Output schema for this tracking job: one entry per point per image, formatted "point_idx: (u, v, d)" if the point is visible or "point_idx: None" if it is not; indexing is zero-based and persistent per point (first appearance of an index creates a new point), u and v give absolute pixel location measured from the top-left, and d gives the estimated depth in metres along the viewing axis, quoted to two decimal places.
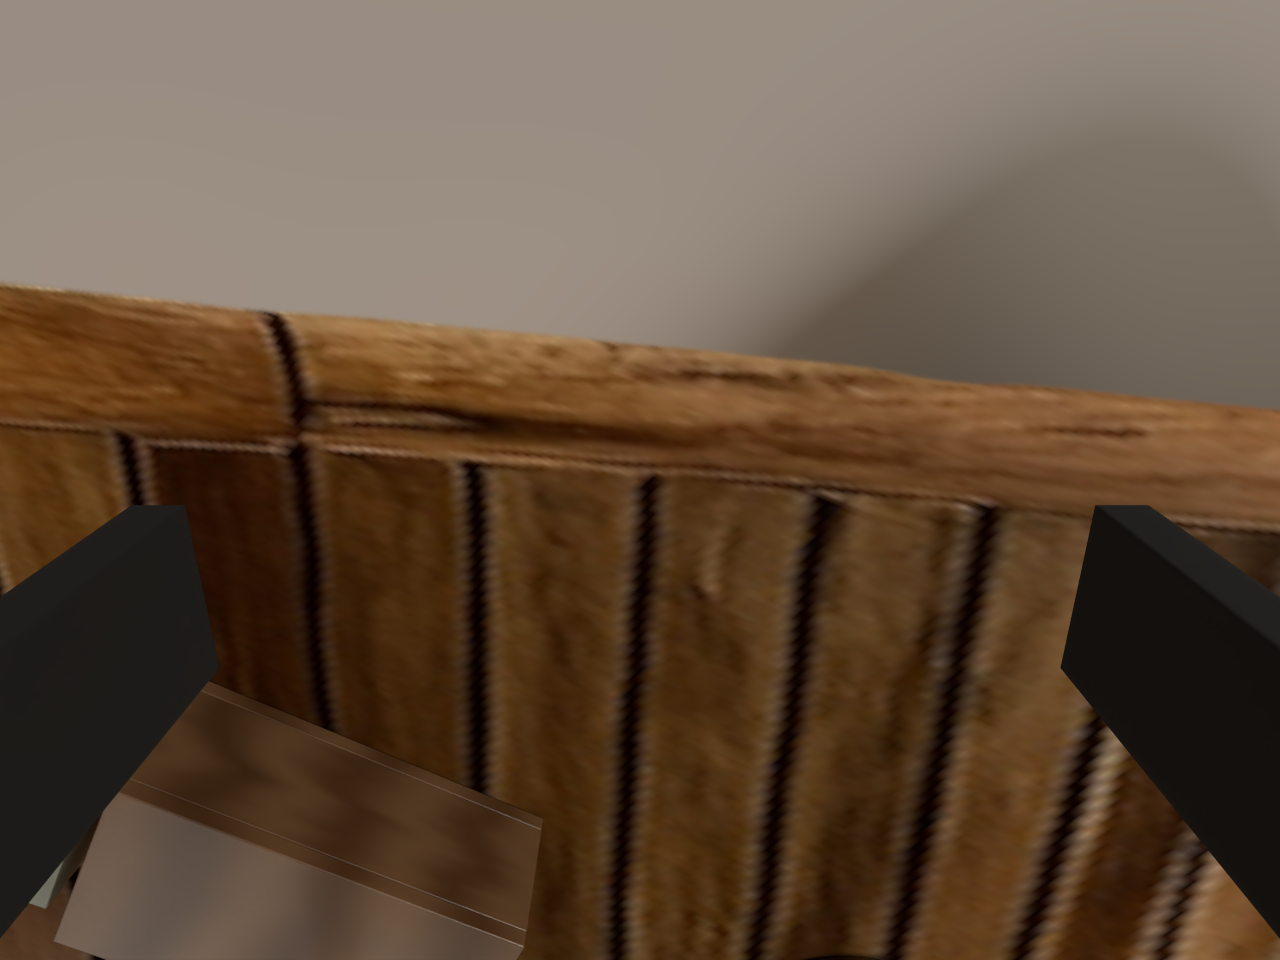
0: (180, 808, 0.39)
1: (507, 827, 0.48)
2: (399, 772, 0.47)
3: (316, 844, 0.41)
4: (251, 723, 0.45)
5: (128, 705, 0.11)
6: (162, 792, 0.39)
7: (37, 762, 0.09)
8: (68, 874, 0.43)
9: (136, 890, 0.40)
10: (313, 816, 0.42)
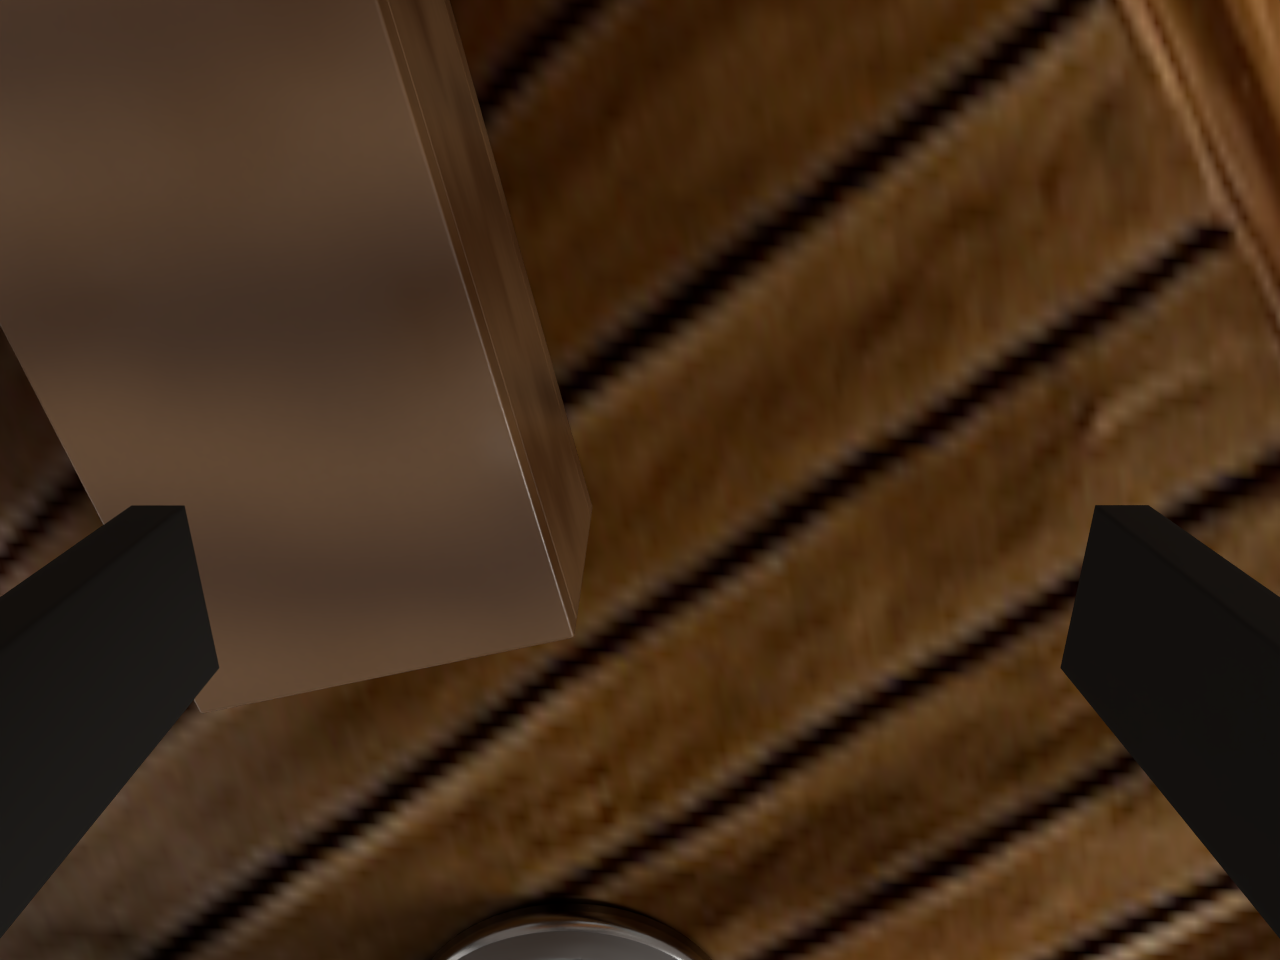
0: None
1: (574, 473, 0.28)
2: (517, 266, 0.26)
3: (450, 195, 0.19)
4: None
5: (128, 705, 0.11)
6: None
7: (36, 762, 0.09)
8: None
9: None
10: (455, 162, 0.20)
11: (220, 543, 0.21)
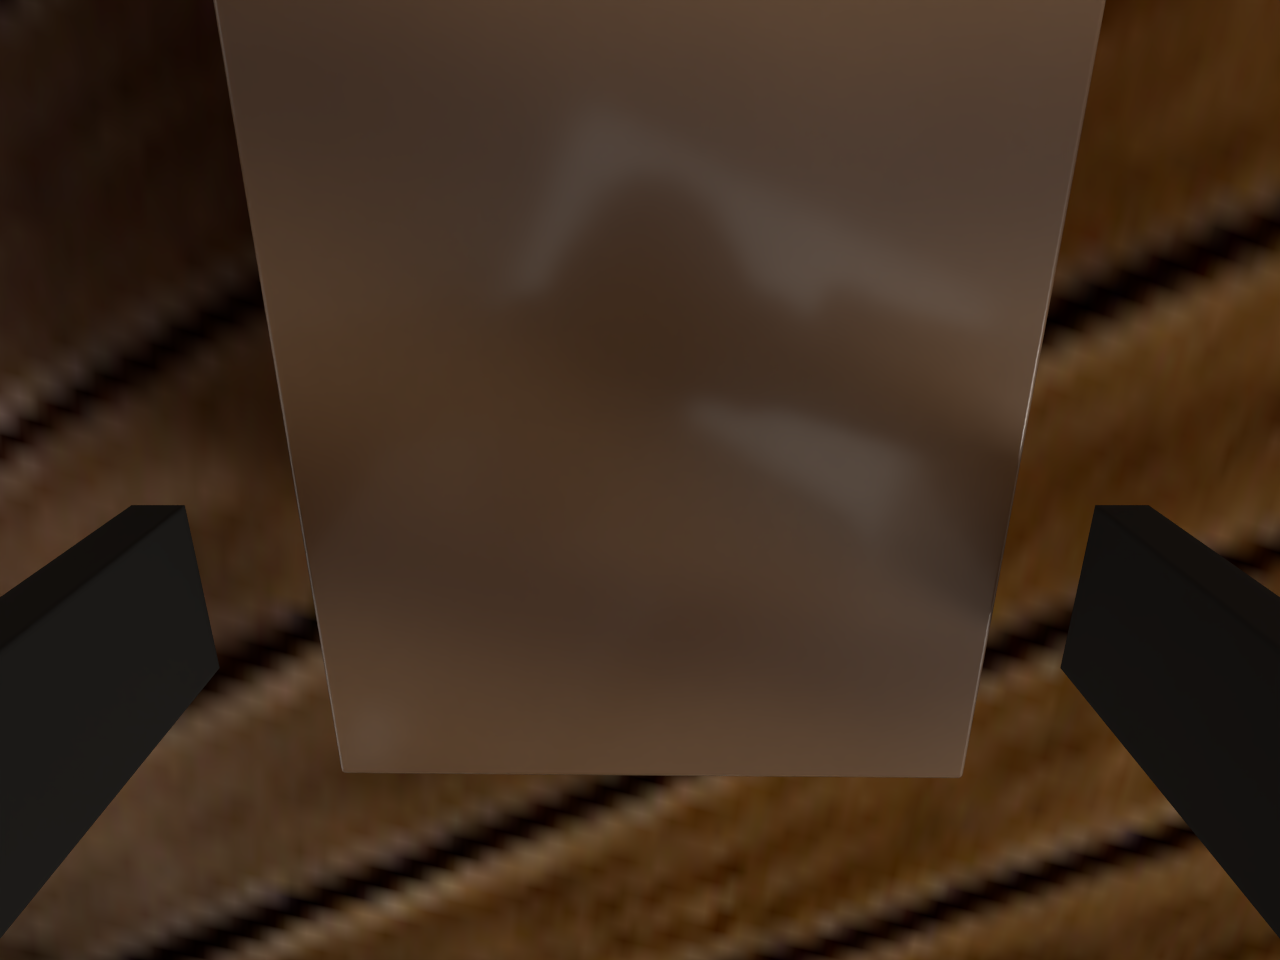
0: None
1: None
2: None
3: None
4: None
5: (128, 705, 0.11)
6: None
7: (37, 763, 0.09)
8: None
9: None
10: None
11: (477, 526, 0.13)
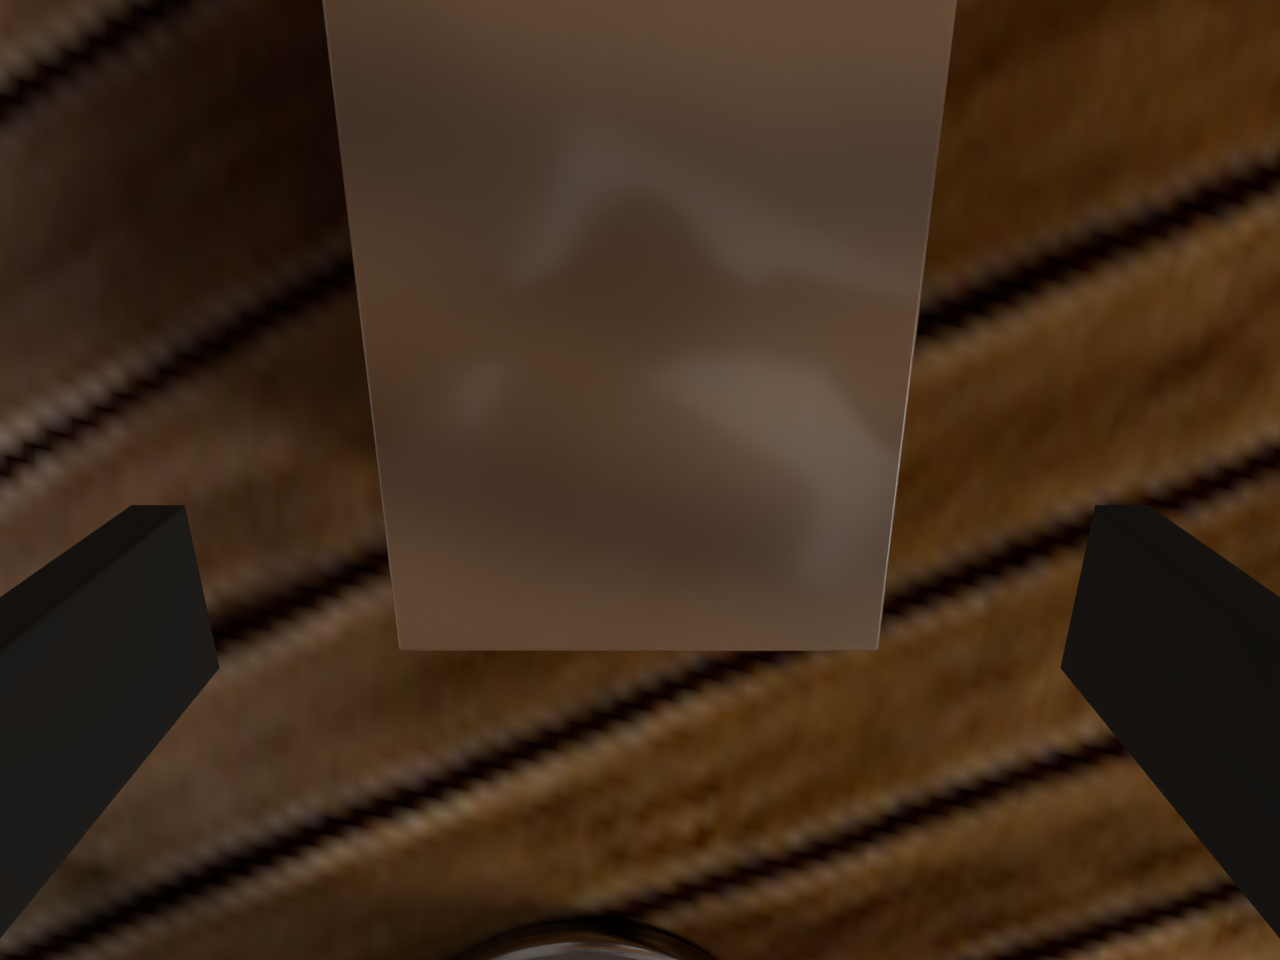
0: None
1: None
2: None
3: None
4: None
5: (128, 705, 0.11)
6: None
7: (36, 763, 0.09)
8: None
9: None
10: None
11: (507, 450, 0.17)
